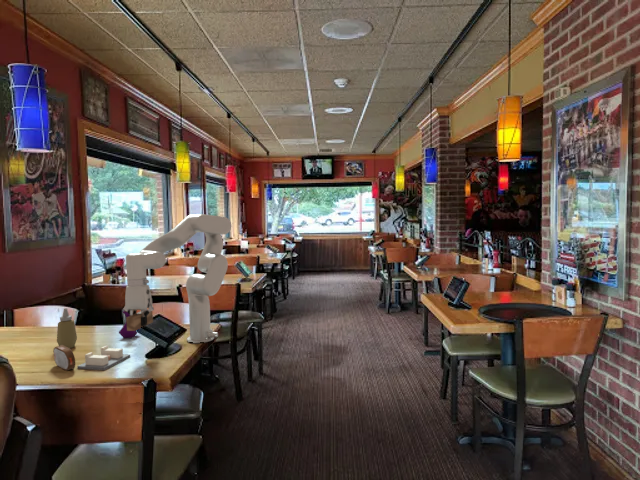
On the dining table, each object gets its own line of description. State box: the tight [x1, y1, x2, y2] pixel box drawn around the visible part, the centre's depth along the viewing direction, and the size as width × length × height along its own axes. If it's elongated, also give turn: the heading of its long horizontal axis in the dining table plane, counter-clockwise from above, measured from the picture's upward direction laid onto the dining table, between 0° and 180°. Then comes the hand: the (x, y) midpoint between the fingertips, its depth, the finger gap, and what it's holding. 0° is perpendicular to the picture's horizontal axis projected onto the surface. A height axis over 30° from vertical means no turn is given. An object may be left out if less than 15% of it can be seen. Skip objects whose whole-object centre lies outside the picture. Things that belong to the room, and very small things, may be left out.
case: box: [125, 311, 154, 331], centre depth 185 cm, size 4×13×6 cm, turn 168°
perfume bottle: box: [118, 309, 138, 339], centre depth 215 cm, size 8×8×18 cm
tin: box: [53, 345, 76, 371], centre depth 172 cm, size 15×3×8 cm, turn 51°
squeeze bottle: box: [56, 308, 78, 349], centre depth 199 cm, size 8×8×18 cm
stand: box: [76, 345, 131, 371], centre depth 178 cm, size 12×16×5 cm
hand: (139, 325), depth 184 cm, fingers closed on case, 3 cm apart
